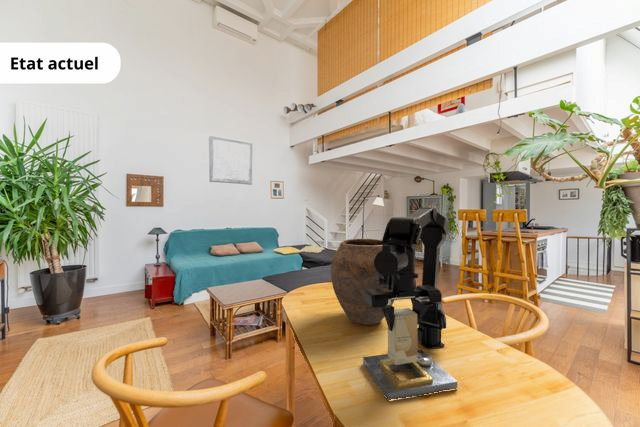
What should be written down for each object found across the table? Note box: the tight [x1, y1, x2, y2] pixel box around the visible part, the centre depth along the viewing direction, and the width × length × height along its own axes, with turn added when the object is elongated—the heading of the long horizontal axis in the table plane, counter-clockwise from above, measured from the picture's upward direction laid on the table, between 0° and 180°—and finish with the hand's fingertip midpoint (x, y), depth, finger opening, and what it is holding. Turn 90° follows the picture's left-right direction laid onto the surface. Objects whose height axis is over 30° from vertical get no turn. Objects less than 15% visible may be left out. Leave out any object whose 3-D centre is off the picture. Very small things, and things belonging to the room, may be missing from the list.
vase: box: [330, 238, 395, 326], centre depth 106 cm, size 26×26×30 cm
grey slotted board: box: [362, 348, 458, 400], centre depth 72 cm, size 18×15×3 cm
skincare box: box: [387, 307, 418, 365], centre depth 70 cm, size 6×4×12 cm
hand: (402, 328), depth 70 cm, fingers closed on skincare box, 6 cm apart
